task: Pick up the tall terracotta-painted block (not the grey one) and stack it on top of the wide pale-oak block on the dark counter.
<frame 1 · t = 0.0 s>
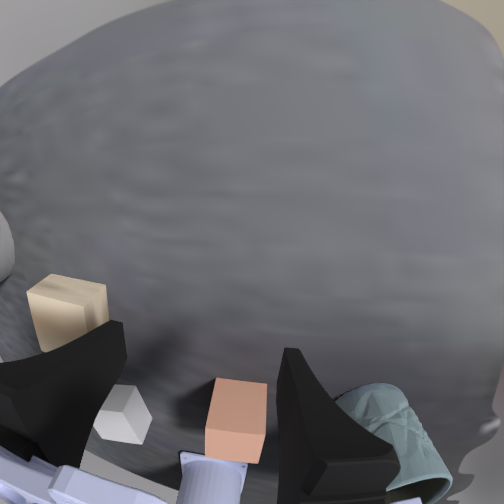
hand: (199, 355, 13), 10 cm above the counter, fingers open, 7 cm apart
terracotta block: (239, 397, 27), on the counter
oak base block: (81, 308, 25), on the counter
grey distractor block: (124, 400, 28), on the counter
teal round container: (367, 409, 27), on the counter
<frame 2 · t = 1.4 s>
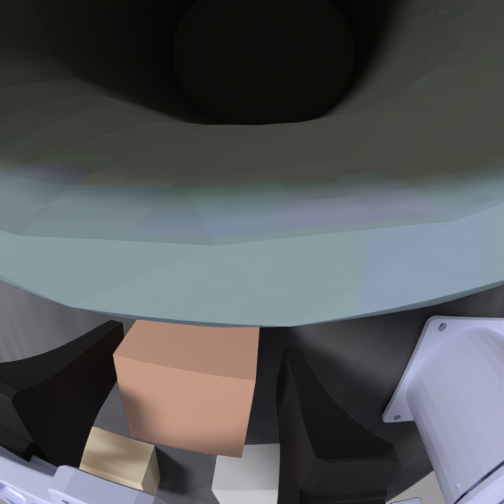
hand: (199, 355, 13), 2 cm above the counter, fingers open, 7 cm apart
terracotta block: (210, 325, 15), on the counter
oak base block: (124, 452, 20), on the counter
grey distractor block: (259, 460, 19), on the counter
teal round container: (262, 48, 11), on the counter
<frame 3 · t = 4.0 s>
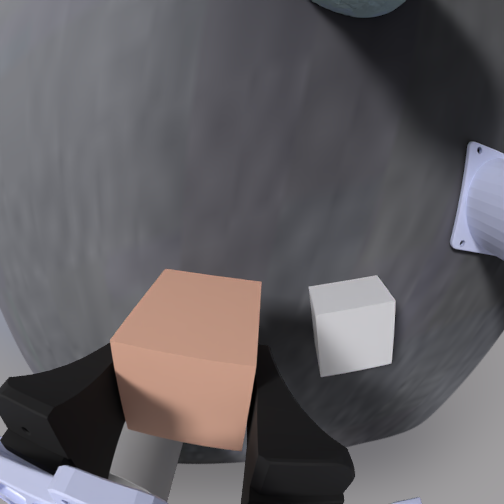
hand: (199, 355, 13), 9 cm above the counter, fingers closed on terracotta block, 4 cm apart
cup: (148, 413, 27), on the counter
terracotta block: (209, 317, 15), point 7 cm above the counter, touching gripper
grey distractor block: (345, 310, 22), on the counter
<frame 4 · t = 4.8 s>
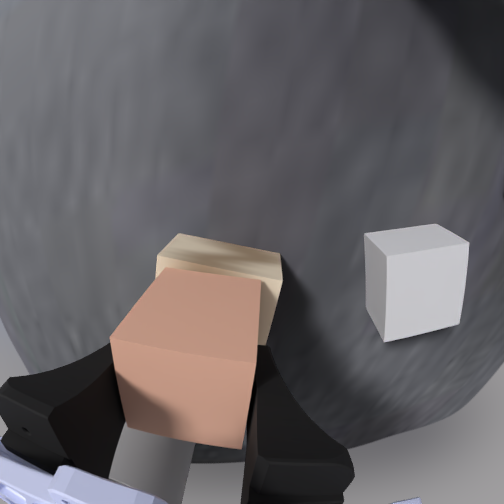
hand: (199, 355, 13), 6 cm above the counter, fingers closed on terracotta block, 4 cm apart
cup: (153, 403, 23), on the counter
terracotta block: (209, 315, 15), point 4 cm above the counter, touching gripper
oak base block: (221, 288, 19), on the counter
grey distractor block: (401, 266, 18), on the counter
when the fingers open (6 cm above the counter, at t = 5.6 s): terracotta block stays where it is, resting on oak base block.
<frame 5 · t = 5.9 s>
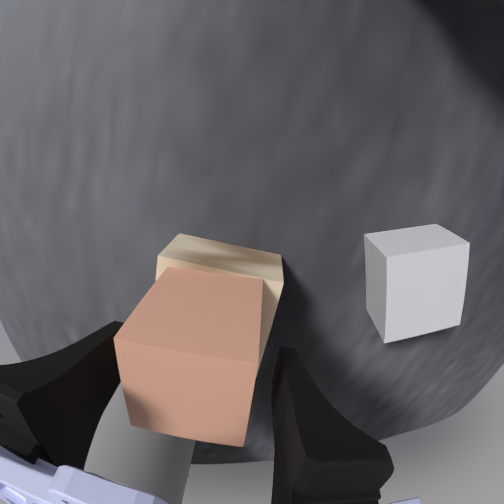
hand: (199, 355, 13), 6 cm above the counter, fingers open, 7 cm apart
cup: (153, 403, 23), on the counter
terracotta block: (211, 314, 15), point 4 cm above the counter, touching oak base block
oak base block: (221, 288, 19), on the counter, touching terracotta block
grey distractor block: (401, 266, 18), on the counter
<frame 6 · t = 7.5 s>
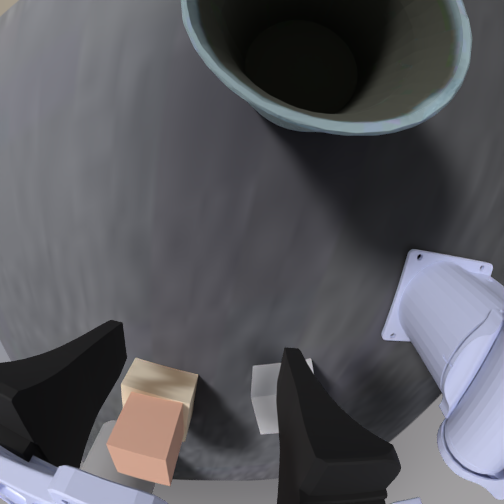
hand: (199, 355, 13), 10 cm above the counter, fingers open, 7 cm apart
cup: (132, 440, 31), on the counter
terracotta block: (158, 414, 23), point 4 cm above the counter
oak base block: (165, 386, 27), on the counter
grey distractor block: (285, 382, 26), on the counter
teal round container: (300, 69, 18), on the counter
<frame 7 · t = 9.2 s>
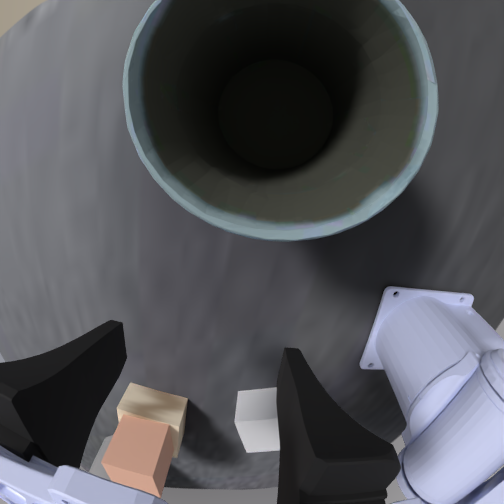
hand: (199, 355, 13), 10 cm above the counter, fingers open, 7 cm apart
cup: (132, 453, 33), on the counter
terracotta block: (149, 433, 25), point 4 cm above the counter
oak base block: (158, 407, 29), on the counter
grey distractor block: (269, 405, 27), on the counter
teal round container: (274, 113, 19), on the counter
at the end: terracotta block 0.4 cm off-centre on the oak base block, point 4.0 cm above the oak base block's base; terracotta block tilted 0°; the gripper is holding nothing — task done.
